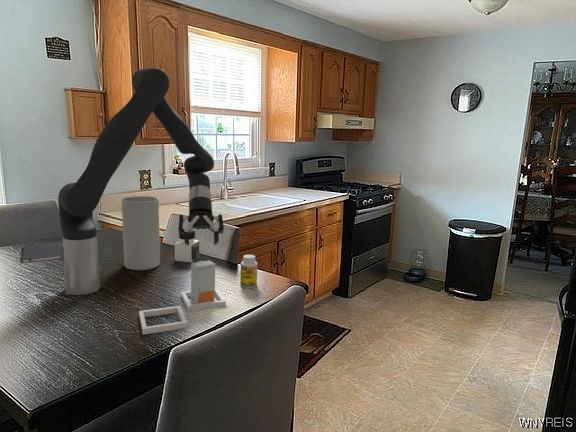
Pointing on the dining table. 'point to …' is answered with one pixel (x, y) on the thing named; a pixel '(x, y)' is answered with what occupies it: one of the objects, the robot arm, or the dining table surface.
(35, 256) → the notebook
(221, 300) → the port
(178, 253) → the medicine bottle
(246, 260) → the supplement bottle
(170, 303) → the dining table surface
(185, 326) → the frame
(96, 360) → the dining table surface
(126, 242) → the cylinder vase
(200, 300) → the skincare box
